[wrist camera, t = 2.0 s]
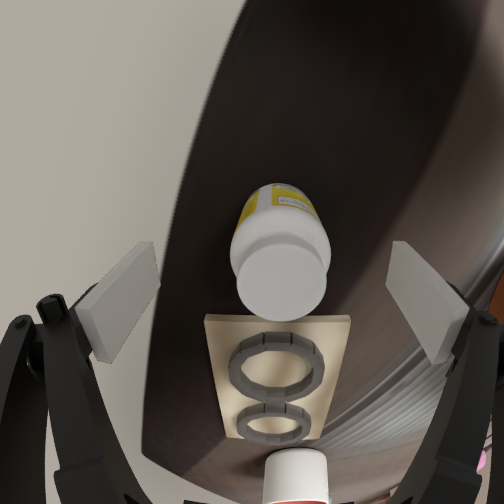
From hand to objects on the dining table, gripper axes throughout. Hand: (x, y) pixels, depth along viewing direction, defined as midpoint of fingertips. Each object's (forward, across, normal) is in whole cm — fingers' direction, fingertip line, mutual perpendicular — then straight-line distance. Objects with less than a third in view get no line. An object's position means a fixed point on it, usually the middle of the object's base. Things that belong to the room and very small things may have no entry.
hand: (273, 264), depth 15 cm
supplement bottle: (+7, 0, 0) cm, 7 cm away
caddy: (+7, 0, -20) cm, 21 cm away
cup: (+8, +4, -40) cm, 41 cm away
